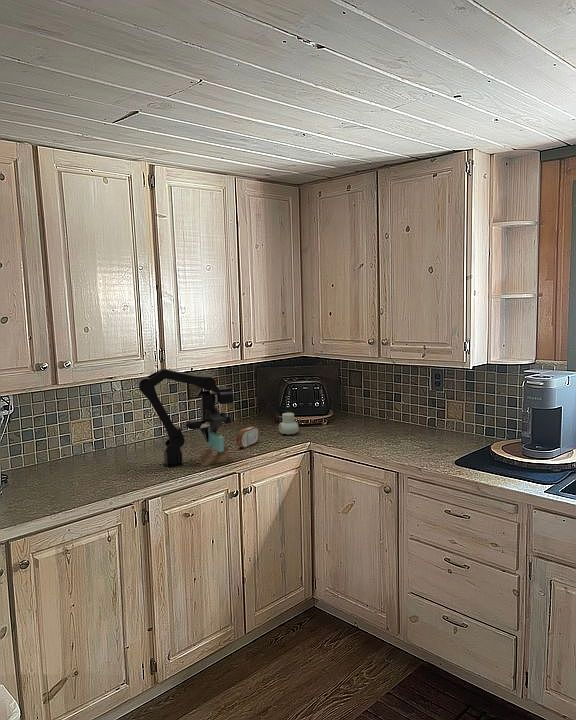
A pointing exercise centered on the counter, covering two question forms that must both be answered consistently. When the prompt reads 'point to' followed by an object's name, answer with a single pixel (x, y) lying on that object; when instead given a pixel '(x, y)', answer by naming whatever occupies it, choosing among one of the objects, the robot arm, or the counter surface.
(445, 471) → the counter surface
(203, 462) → the notched walnut block
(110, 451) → the counter surface
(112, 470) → the counter surface
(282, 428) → the air freshener
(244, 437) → the tin
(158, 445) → the counter surface
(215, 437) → the notched teal slat
